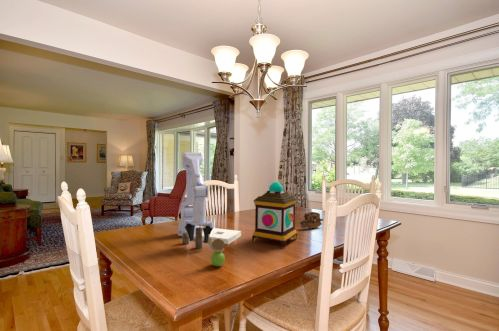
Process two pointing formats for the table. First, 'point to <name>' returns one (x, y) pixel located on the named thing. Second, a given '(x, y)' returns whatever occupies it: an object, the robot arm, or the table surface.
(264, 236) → the decorative lantern
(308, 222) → the wooden carving
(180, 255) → the table surface
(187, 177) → the robot arm
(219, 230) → the hole board
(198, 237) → the tall dowel
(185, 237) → the short dowel
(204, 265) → the table surface
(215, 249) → the snail figurine
